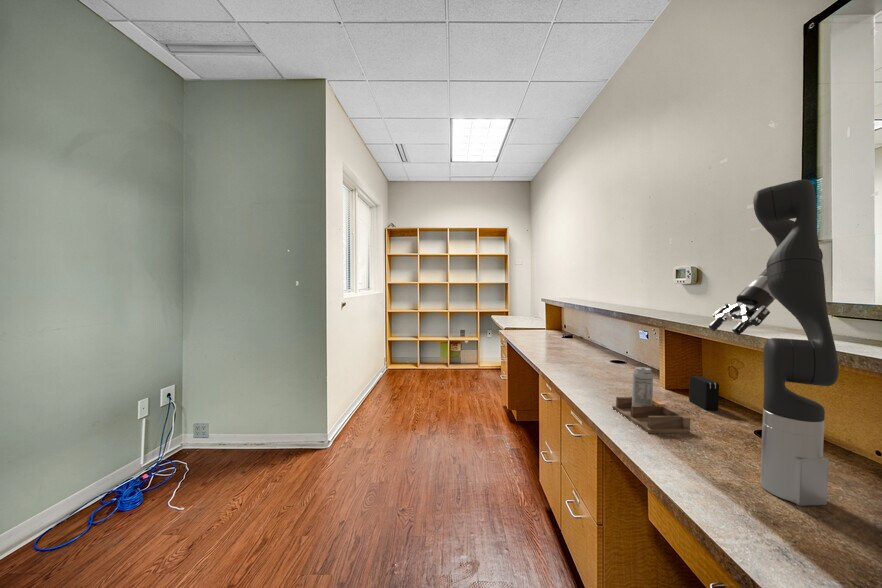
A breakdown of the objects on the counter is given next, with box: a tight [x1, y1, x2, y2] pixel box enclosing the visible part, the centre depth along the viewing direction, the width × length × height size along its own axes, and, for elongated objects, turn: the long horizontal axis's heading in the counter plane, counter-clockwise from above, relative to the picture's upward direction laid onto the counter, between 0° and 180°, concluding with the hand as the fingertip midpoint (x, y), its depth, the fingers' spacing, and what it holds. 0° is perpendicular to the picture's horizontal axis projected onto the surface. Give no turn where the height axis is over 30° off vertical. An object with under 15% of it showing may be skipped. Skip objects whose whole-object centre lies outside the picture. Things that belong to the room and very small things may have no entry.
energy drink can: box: [631, 366, 654, 406], centre depth 118 cm, size 6×6×15 cm
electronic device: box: [688, 375, 720, 411], centre depth 128 cm, size 4×10×10 cm, turn 174°
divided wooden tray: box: [611, 396, 691, 434], centre depth 114 cm, size 20×13×5 cm, turn 3°
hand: (722, 330), depth 106 cm, fingers open, 8 cm apart
